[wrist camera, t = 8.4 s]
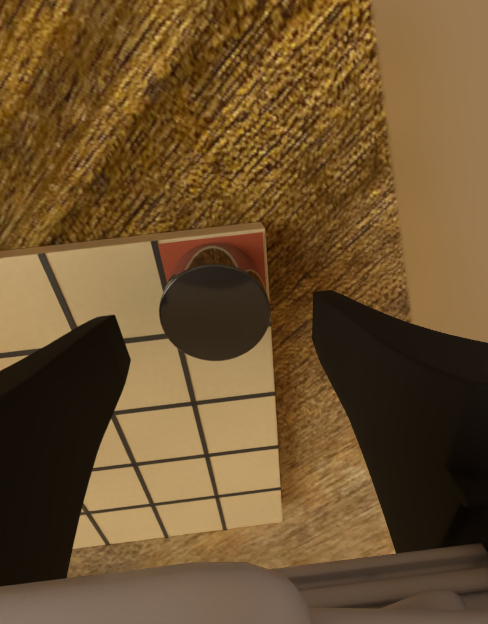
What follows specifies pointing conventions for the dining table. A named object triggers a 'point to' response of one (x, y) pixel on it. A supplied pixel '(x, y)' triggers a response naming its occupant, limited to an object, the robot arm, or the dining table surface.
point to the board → (155, 388)
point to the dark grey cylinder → (215, 303)
